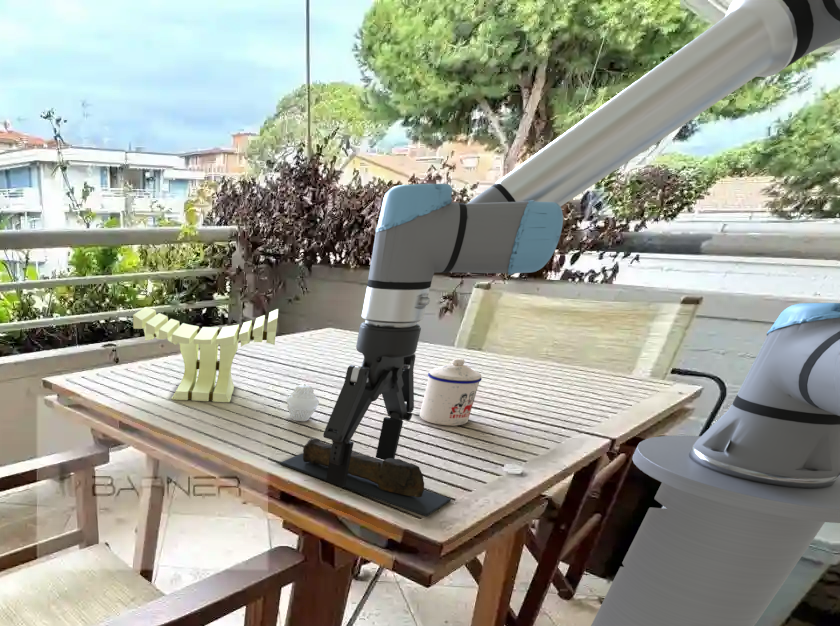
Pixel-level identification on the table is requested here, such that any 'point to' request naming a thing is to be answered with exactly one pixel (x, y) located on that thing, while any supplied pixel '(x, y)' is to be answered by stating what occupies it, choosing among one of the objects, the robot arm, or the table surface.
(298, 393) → the white ribbed jar
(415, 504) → the edge strip
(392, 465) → the hand tool
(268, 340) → the slatted curved stool
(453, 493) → the table surface
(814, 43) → the robot arm
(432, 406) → the teacup with lid
